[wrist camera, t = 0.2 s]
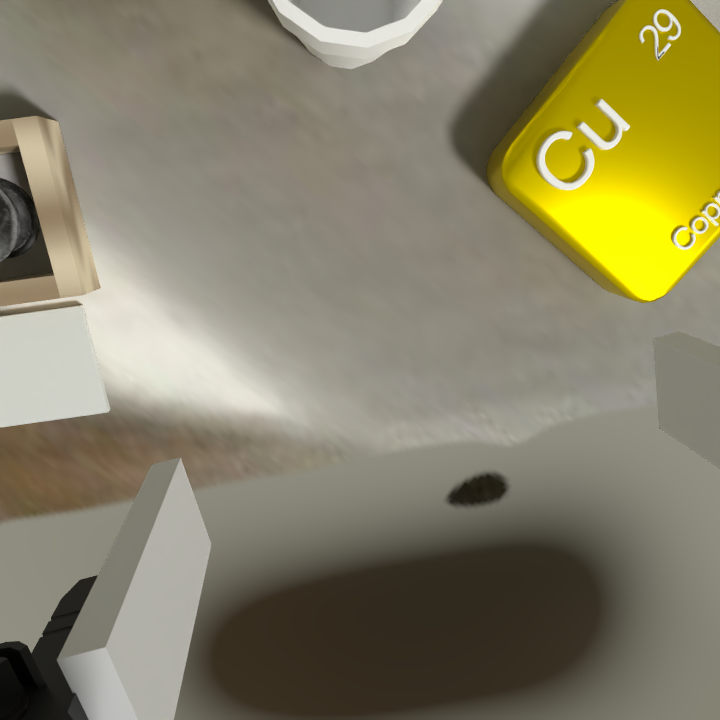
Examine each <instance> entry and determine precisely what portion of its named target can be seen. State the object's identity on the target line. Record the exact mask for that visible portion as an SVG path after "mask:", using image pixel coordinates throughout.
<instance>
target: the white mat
mask: <svg viewBox="0 0 720 720" xmlns="http://www.w3.org/2000/svg"><path fill="white" fill-rule="evenodd" d="M109 411H110V406H109V402H108V398H107V395H106V391H105V387H104V383H103V379H102V376H101V372H100V368H99V364H98V361H97V357H96V353H95V349H94V345H93V342H92V338H91V334H90V330H89V326H88V323H87V319H86V315H85V311H84V308H83V305H78V306H71V307H63V308H56V309H49V310H41V311H34V312H27V313H20V314H12V315H5V316H0V427H7V426H14V425H21V424H28V423H35V422H42V421H49V420H56V419H63V418H71V417H78V416H85V415H92V414H99V413H106V412H109Z"/></svg>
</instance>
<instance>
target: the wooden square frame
mask: <svg viewBox="0 0 720 720" xmlns="http://www.w3.org/2000/svg"><path fill="white" fill-rule="evenodd" d="M14 152H21V155H22V159H23V163H24V166H25V170H26V174H27V177H28V181H29V185H30V188H31V192H32V196H33V199H34V203H35V207H36V210H37V214H38V218H39V221H40V225H41V229H42V232H43V236H44V239H45V243H46V247H47V250H48V254H49V258H50V261H51V265H52V269H53V273H46V274H38V275H31V276H24V277H16V278H9V279H2V280H0V306H7V305H14V304H21V303H28V302H36V301H43V300H50V299H58V298H65V297H72V296H79V295H85V294H87V293H89V292H92V291H94V290H97V289H99V288H100V284H99V281H98V277H97V273H96V269H95V265H94V261H93V257H92V253H91V249H90V245H89V241H88V237H87V233H86V229H85V225H84V221H83V217H82V214H81V210H80V206H79V202H78V198H77V194H76V190H75V186H74V182H73V178H72V174H71V170H70V166H69V162H68V158H67V154H66V150H65V146H64V143H63V139H62V135H61V131H60V127H59V123H58V121H54V120H50V119H47V118H43V117H39V116H30V117H23V118H15V119H8V120H0V154H7V153H14Z"/></svg>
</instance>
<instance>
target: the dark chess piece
mask: <svg viewBox="0 0 720 720" xmlns="http://www.w3.org/2000/svg"><path fill="white" fill-rule="evenodd" d="M38 233H39V218H38V214H37V210H36V207H35V205H34V203H33V201H32V199H31V198H30V197H29V196H28V195H27V194H26V192H25V191H23V190H22V189H21V188H19V187H18V186H17V185H15V184H13V183H11V182H9V181H6V180H3V179H0V262H1V261H3V260H4V259H5V258H13V257H16V256H19V255H21V254H24V253H25V252H26V251H27V250H29V249H30V248H31V247H32V245H33V244H34V242H35V241H36V239H37V236H38Z"/></svg>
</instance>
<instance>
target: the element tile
mask: <svg viewBox="0 0 720 720" xmlns="http://www.w3.org/2000/svg"><path fill="white" fill-rule="evenodd" d="M486 170H487V180H488V182H489V184H490V186H491V189H492V190H493V191H494V193H495V194H496V195H497V196H498V197H500V198H501V199H502V200H503V201H504V202H505V203H506V204H507V205H509V206H510V207H511V208H512V209H513V210H514V211H515V212H517V213H518V214H519V215H520V216H521V217H522V218H523V219H525V220H526V221H527V222H528V223H529V224H530V225H531V226H533V227H534V228H535V229H536V230H537V231H538V232H539V233H541V234H542V235H543V236H544V237H545V238H546V239H547V240H549V241H550V242H551V243H552V244H553V245H554V246H555V247H556V248H558V249H559V250H560V251H561V252H562V253H563V254H564V255H566V256H567V257H568V258H569V259H570V260H571V261H572V262H574V263H575V264H576V265H577V266H578V267H579V268H580V269H582V270H583V271H584V272H585V273H586V274H587V275H588V276H590V277H591V278H592V279H593V280H594V281H595V282H596V283H597V284H599V285H600V286H601V287H602V288H603V289H605V290H607V291H608V292H611V293H614V294H617V295H619V296H622V297H625V298H628V299H631V300H634V301H638V302H641V303H647V302H654V301H656V300H658V299H660V298H662V297H664V296H665V295H666V294H667V293H668V292H670V291H671V290H672V289H673V288H674V287H675V286H676V285H677V283H678V282H679V281H680V280H681V279H682V278H683V277H684V276H685V275H686V274H687V272H688V271H689V270H690V269H691V268H692V267H693V266H694V265H695V264H696V263H697V261H698V260H699V259H700V258H701V257H702V256H703V255H704V254H705V253H706V252H707V250H708V249H709V248H710V247H711V246H712V245H713V244H714V243H715V242H716V241H717V239H718V238H719V237H720V32H719V31H718V30H717V29H716V28H715V27H714V26H713V25H712V24H711V23H710V22H709V20H708V19H707V18H706V17H705V16H704V15H703V14H702V13H701V12H700V11H699V10H698V9H697V8H696V7H695V5H694V4H693V3H692V2H691V1H690V0H619V1H618V2H616V3H615V4H613V5H612V6H610V7H609V8H608V9H607V10H606V11H605V12H604V13H603V14H602V15H601V16H600V17H599V19H598V20H597V21H596V22H595V24H594V25H593V26H592V27H591V29H590V30H589V31H588V32H587V34H586V35H585V36H584V37H583V39H582V40H581V41H580V42H579V44H578V45H577V46H576V47H575V49H574V50H573V51H572V52H571V54H570V55H569V56H568V57H567V59H566V60H565V61H564V62H563V64H562V65H561V66H560V67H559V69H558V70H557V71H556V72H555V74H554V75H553V76H552V77H551V79H550V80H549V81H548V82H547V84H546V85H545V86H544V88H543V89H542V90H541V91H540V93H539V94H538V95H537V96H536V98H535V99H534V100H533V101H532V103H531V104H530V105H529V106H528V108H527V109H526V110H525V111H524V113H523V114H522V115H521V116H520V118H519V119H518V120H517V121H516V123H515V124H514V125H513V126H512V128H511V129H510V130H509V131H508V133H507V134H506V135H505V136H504V138H503V139H502V140H501V141H500V143H499V144H498V145H497V146H496V148H495V149H494V151H493V153H492V154H491V156H490V158H489V161H488V165H487V168H486Z"/></svg>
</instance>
